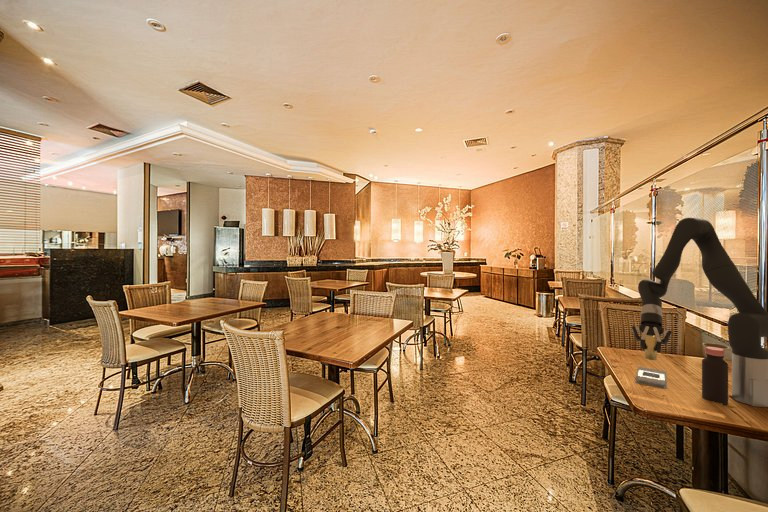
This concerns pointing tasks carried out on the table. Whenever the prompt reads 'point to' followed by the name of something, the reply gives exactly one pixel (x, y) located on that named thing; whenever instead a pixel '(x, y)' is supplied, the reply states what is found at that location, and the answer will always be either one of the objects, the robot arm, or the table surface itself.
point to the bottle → (715, 376)
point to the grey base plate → (654, 372)
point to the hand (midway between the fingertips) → (650, 349)
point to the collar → (651, 378)
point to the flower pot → (717, 347)
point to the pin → (650, 347)
